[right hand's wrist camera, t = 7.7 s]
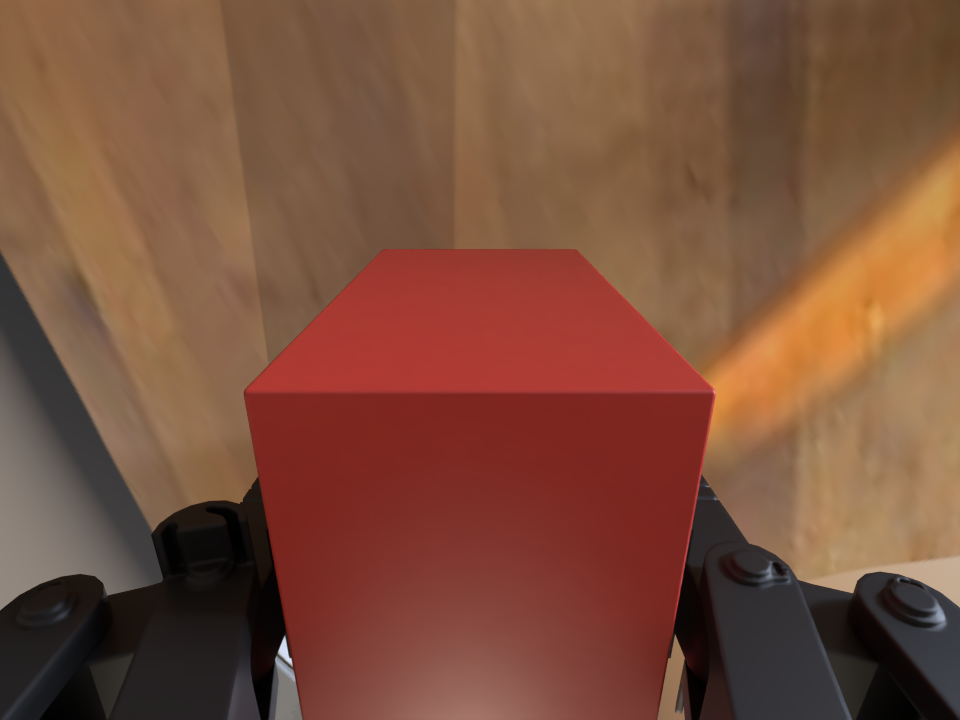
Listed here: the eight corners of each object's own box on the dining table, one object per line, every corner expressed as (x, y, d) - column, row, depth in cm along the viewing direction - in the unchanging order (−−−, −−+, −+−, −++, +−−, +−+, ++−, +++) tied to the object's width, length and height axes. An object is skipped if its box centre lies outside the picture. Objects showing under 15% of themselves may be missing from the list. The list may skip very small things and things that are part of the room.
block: (577, 248, 14) (719, 390, 6) (558, 526, 17) (631, 871, 9) (382, 248, 14) (240, 390, 6) (401, 526, 17) (327, 871, 9)
